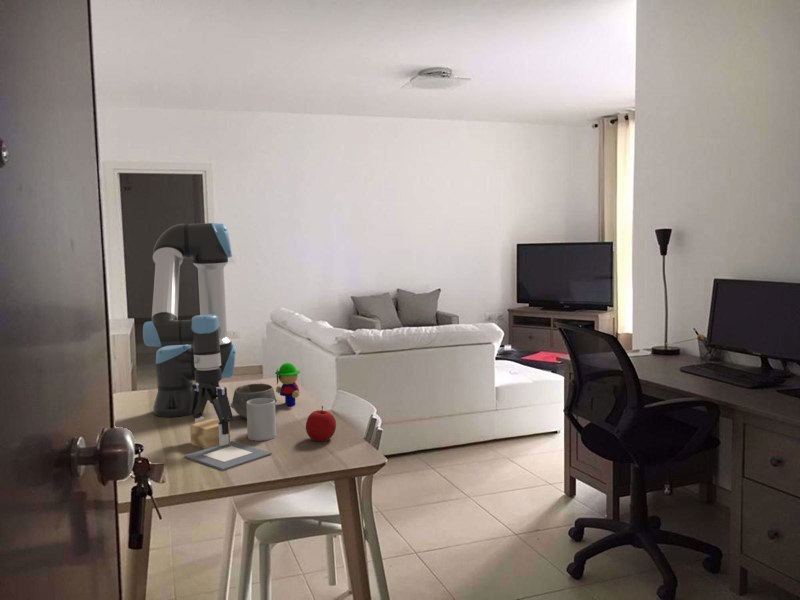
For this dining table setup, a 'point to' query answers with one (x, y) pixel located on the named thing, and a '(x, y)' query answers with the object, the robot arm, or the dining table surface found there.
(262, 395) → the bowl
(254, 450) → the grey rectangular mat
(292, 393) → the toy
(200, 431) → the oak block
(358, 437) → the dining table surface
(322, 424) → the apple
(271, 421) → the mug
